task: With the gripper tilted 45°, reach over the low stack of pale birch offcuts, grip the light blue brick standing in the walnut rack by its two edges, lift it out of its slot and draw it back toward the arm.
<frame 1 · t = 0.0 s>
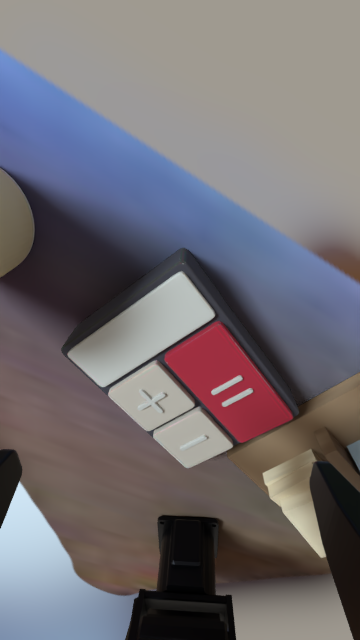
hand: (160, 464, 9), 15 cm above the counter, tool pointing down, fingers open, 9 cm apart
offcut stack: (313, 489, 28), point 1 cm above the counter, touching rack
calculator: (186, 357, 26), on the counter
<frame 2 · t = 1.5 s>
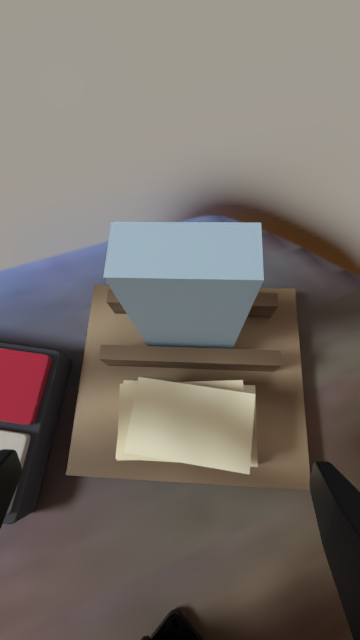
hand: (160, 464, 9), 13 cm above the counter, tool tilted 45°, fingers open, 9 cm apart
rack: (191, 339, 24), on the counter
offcut stack: (187, 421, 21), point 1 cm above the counter, touching rack
light blue brick: (190, 334, 23), point 1 cm above the counter, touching rack
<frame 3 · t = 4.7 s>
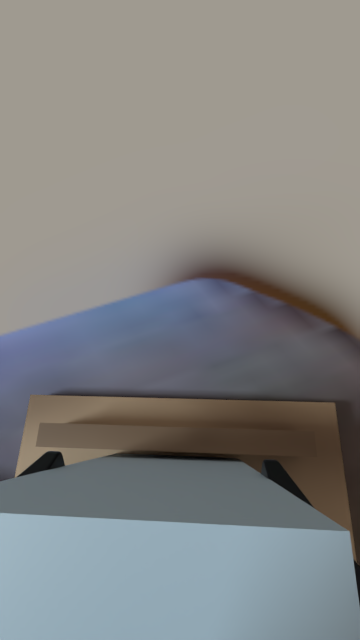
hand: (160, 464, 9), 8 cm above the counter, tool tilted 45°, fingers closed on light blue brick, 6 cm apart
rack: (176, 480, 16), on the counter
light blue brick: (174, 484, 15), point 1 cm above the counter, touching gripper, rack
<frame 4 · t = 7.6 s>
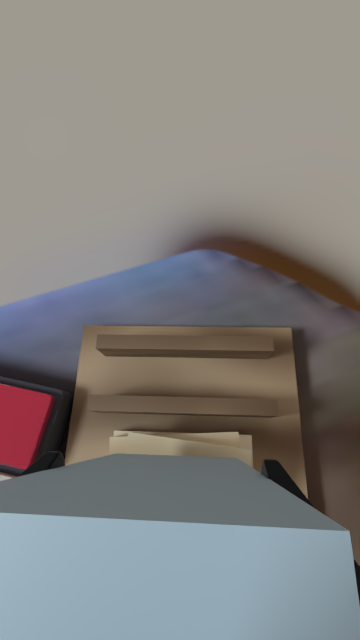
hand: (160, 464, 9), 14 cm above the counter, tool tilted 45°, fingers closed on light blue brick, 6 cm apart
rack: (184, 381, 24), on the counter
offcut stack: (181, 473, 20), point 1 cm above the counter, touching rack
light blue brick: (174, 483, 15), point 7 cm above the counter, touching gripper
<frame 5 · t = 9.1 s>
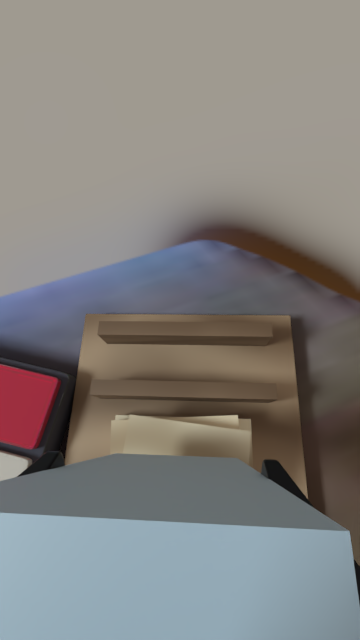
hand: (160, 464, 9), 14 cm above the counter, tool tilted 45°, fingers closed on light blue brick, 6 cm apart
rack: (185, 368, 24), on the counter
offcut stack: (182, 456, 21), point 1 cm above the counter, touching rack
light blue brick: (174, 483, 15), point 7 cm above the counter, touching gripper
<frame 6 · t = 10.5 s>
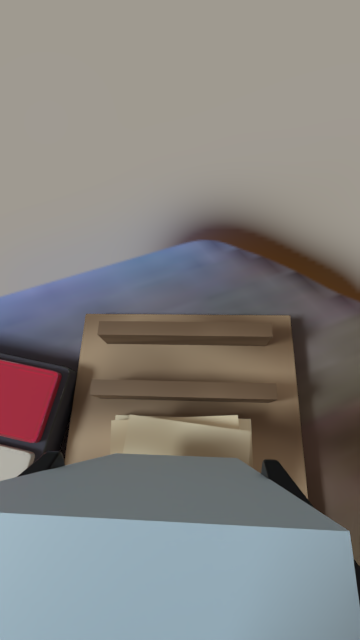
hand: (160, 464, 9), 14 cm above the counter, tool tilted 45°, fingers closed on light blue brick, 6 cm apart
rack: (185, 368, 24), on the counter
offcut stack: (182, 456, 21), point 1 cm above the counter, touching rack
light blue brick: (174, 483, 15), point 7 cm above the counter, touching gripper
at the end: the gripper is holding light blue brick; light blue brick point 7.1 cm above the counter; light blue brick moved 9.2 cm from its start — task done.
